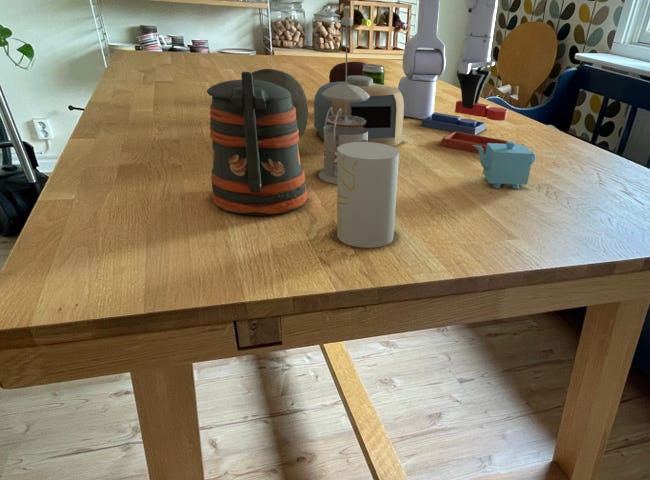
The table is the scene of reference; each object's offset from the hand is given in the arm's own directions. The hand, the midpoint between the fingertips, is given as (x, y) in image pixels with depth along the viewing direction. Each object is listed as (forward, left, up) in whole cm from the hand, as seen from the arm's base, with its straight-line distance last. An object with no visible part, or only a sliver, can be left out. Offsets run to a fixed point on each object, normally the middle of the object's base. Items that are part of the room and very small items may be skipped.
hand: (469, 106), depth 121 cm
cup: (+6, -59, -8) cm, 60 cm away
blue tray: (-8, +13, -8) cm, 17 cm away
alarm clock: (-22, -11, -8) cm, 26 cm away
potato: (-41, +20, -8) cm, 46 cm away
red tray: (+3, -1, -8) cm, 9 cm away
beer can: (-28, +7, -8) cm, 30 cm away
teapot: (+15, -23, -8) cm, 28 cm away
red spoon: (+3, 0, -1) cm, 3 cm away
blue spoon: (-8, +13, -8) cm, 17 cm away
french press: (-10, -38, -8) cm, 40 cm away
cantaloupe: (-28, -34, -8) cm, 44 cm away
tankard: (-13, -58, -8) cm, 60 cm away
